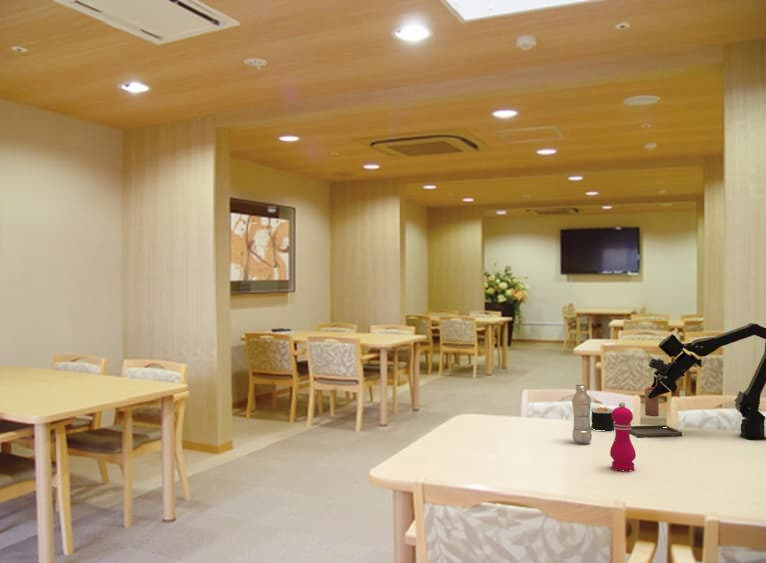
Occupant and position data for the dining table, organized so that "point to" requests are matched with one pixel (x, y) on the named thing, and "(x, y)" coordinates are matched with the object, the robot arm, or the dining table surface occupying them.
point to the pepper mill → (622, 439)
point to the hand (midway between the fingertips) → (647, 396)
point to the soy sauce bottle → (651, 403)
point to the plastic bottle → (581, 415)
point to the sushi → (602, 419)
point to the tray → (654, 431)
